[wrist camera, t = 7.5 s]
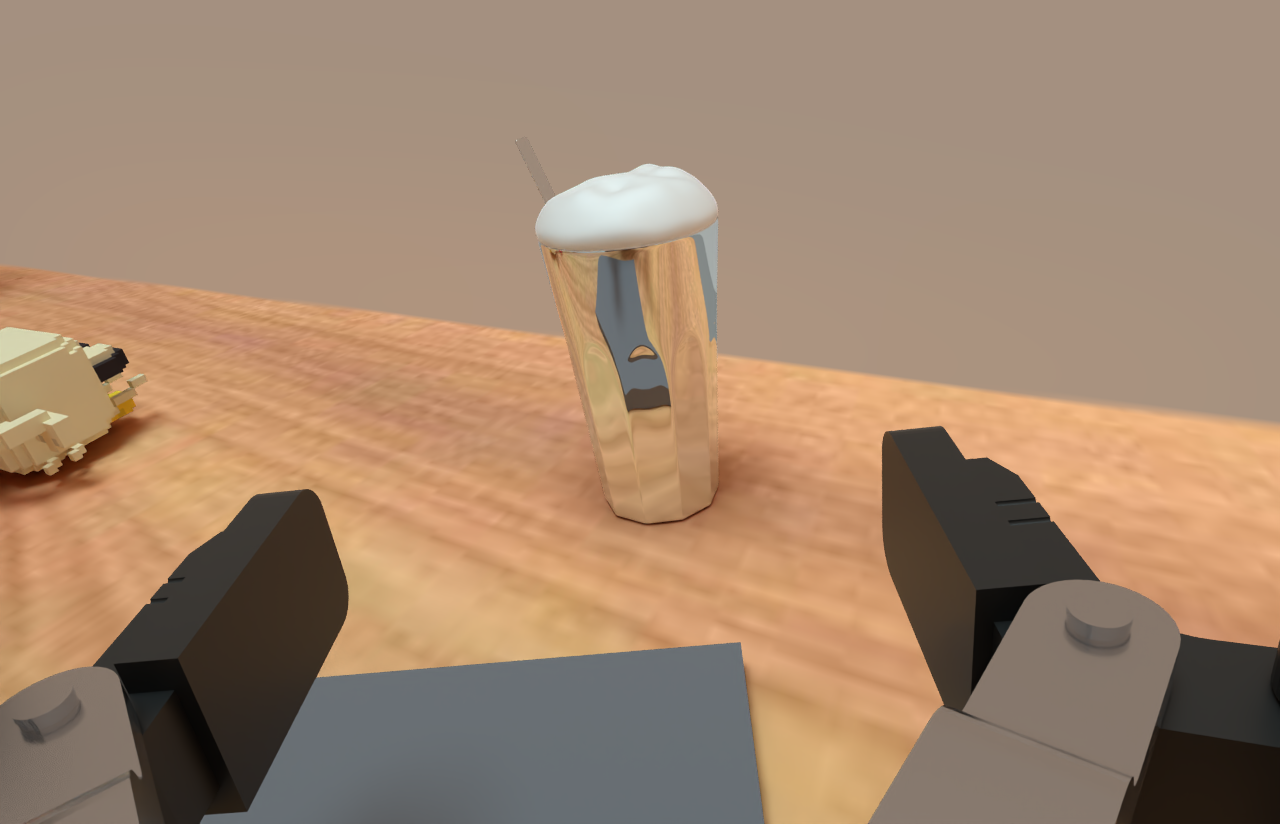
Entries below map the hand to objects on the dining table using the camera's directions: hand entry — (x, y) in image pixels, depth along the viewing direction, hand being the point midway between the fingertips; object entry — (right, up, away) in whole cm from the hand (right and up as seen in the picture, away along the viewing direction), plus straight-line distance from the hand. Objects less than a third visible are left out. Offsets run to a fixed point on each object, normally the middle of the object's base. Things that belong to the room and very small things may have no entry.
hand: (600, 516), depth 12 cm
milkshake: (+1, -1, +13) cm, 13 cm away
